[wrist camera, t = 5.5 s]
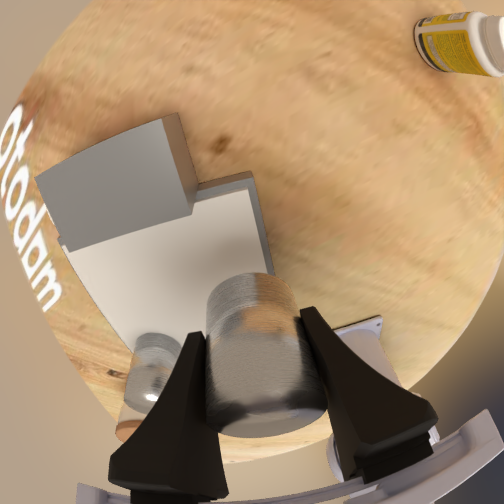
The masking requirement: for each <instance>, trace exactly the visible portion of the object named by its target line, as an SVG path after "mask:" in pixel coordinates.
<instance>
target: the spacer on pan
mask: <svg viewBox="0 0 504 504" xmlns="http://www.w3.org/2000/svg"><path fill="white" fill-rule="evenodd" d="M181 349H182V347H181V345H180V344H179V342H178V341H176V340H175V339H174V338H172V337H170V336H168V335H165V334H161V333H145V334H142V335H140V336H139V337H138V338H137V339H136V342H135V347H134V351H133V355H132V360H131V365H130V369H129V374H128V379H127V384H126V390H125V395H124V402H125V403H126V405H128V406H129V407H130V408H131V409H133V410H135V411H137V412H140V413H142V414H146V415H147V414H148V413H149V412H150V410H151V409H152V407H153V406H154V404H155V402H156V401H157V399H158V397H159V396H160V394H161V392H162V390H163V388H164V386H165V385H166V383H167V381H168V379H169V377H170V375H171V373H172V370H173V368H174V366H175V364H176V361H177V359H178V357H179V354H180V352H181Z"/></svg>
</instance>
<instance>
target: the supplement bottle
mask: <svg viewBox="0 0 504 504" xmlns="http://www.w3.org/2000/svg"><path fill="white" fill-rule="evenodd" d="M415 41H416V45H417V48H418V50H419V52H420V54H421V56H422V57H423V59H424V60H425V61H426V62H427V63H428V64H429V65H430V66H431V67H433V68H434V69H436V70H439V71H443V72H455V73H466V74H475V75H483V76H490V77H502V76H503V75H504V16H487V15H486V14H484V13H481V12H474V11H473V12H463V13H454V14H447V15H440V16H434V17H429V18H424V19H422V20H420V21H419V22H418V23H417V24H416V27H415Z"/></svg>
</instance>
